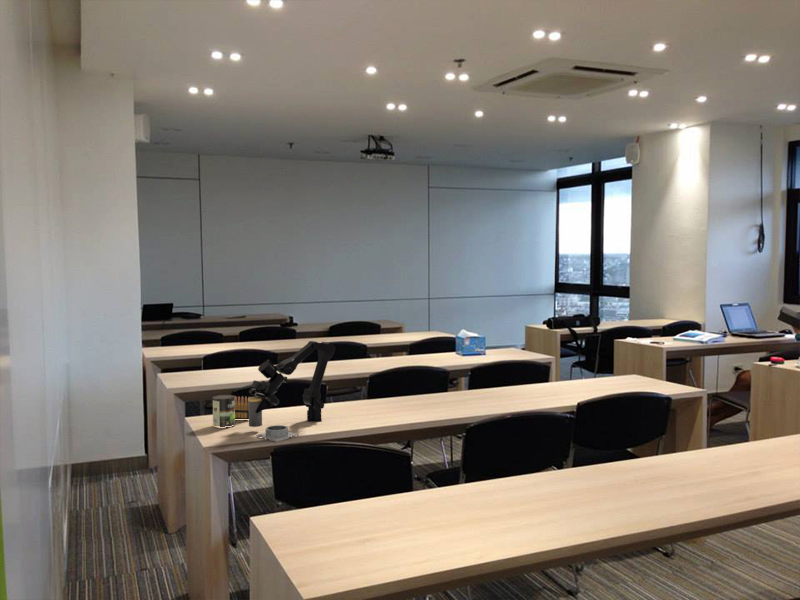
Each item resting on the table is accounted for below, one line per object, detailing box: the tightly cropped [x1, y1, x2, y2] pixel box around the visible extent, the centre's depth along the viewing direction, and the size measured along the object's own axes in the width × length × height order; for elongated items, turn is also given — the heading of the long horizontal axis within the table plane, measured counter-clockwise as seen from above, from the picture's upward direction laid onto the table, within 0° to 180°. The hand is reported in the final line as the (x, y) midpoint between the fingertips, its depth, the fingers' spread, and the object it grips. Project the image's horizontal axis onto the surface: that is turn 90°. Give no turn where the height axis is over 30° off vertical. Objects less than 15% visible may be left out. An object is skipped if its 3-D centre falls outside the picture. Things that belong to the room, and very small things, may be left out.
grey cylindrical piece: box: [247, 396, 263, 428], centre depth 305 cm, size 6×6×12 cm
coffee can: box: [211, 394, 236, 427], centre depth 316 cm, size 10×10×14 cm
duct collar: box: [255, 424, 299, 443], centre depth 297 cm, size 13×13×4 cm
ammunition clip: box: [234, 395, 251, 419], centre depth 328 cm, size 11×2×12 cm, turn 81°
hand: (252, 411), depth 304 cm, fingers closed on grey cylindrical piece, 6 cm apart
